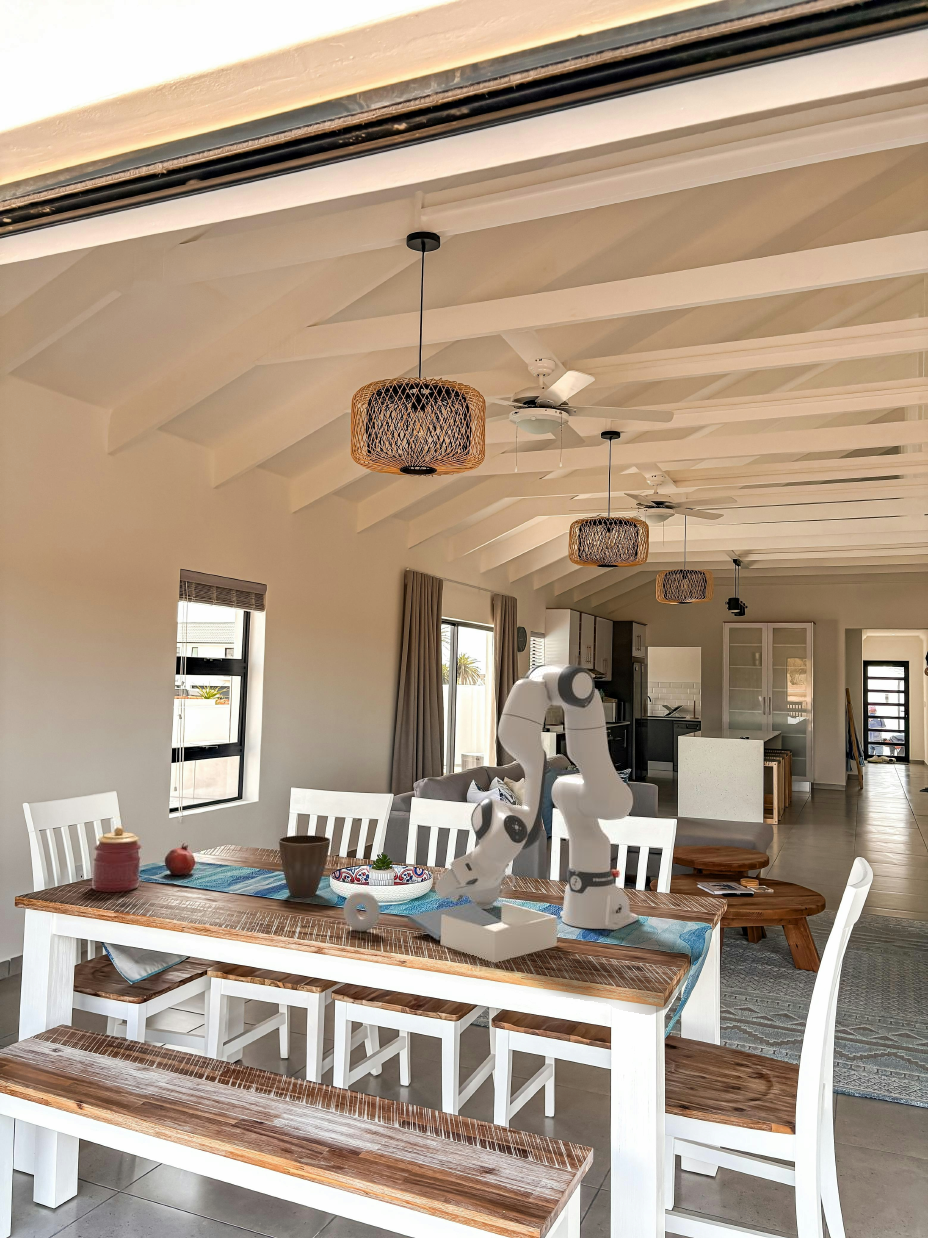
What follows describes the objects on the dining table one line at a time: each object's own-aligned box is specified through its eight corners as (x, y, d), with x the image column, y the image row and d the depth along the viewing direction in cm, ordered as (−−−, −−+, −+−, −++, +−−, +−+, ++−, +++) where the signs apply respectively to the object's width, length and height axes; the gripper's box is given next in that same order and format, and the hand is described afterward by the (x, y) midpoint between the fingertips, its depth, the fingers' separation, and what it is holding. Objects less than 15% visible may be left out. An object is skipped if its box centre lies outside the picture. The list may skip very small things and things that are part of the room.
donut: (381, 932, 223) (383, 891, 224) (374, 935, 220) (376, 894, 221) (347, 927, 227) (348, 887, 228) (340, 930, 224) (341, 889, 225)
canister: (128, 893, 255) (132, 831, 256) (83, 892, 255) (87, 829, 256) (145, 884, 267) (149, 824, 269) (103, 882, 268) (106, 822, 269)
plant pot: (300, 903, 250) (303, 845, 251) (265, 894, 259) (268, 839, 260) (338, 895, 262) (341, 839, 263) (303, 886, 271) (306, 833, 272)
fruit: (157, 876, 278) (159, 844, 279) (176, 870, 287) (177, 839, 288) (183, 879, 276) (184, 846, 276) (200, 873, 285) (202, 841, 285)
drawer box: (556, 946, 217) (557, 916, 217) (494, 963, 201) (495, 931, 202) (503, 929, 230) (503, 902, 230) (440, 944, 214) (441, 915, 215)
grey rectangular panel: (501, 921, 230) (471, 903, 238) (439, 935, 215) (408, 915, 223) (500, 929, 230) (469, 911, 239) (437, 944, 215) (407, 924, 223)
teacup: (511, 914, 245) (512, 877, 246) (458, 910, 248) (459, 873, 249) (517, 904, 257) (518, 869, 258) (466, 900, 260) (467, 865, 261)
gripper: (505, 850, 231) (478, 882, 237) (447, 861, 217) (420, 894, 223) (518, 871, 227) (490, 902, 234) (460, 883, 213) (432, 916, 220)
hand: (455, 898), depth 228 cm, fingers closed
